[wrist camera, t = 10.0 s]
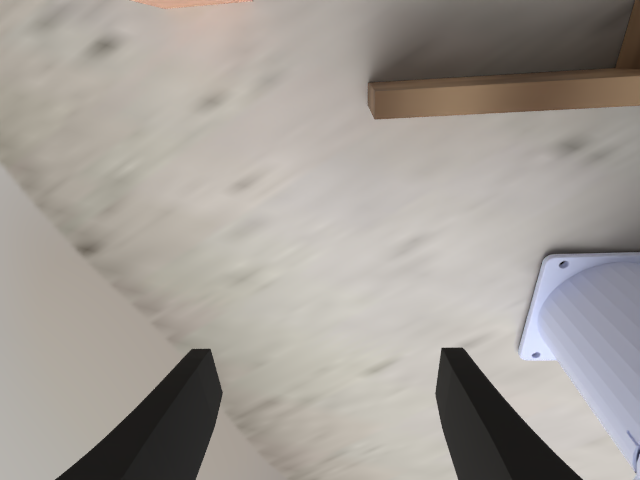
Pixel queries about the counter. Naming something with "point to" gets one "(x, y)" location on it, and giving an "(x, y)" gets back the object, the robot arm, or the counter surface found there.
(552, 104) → the open-sided box
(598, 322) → the robot arm
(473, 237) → the counter surface
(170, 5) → the terracotta block
